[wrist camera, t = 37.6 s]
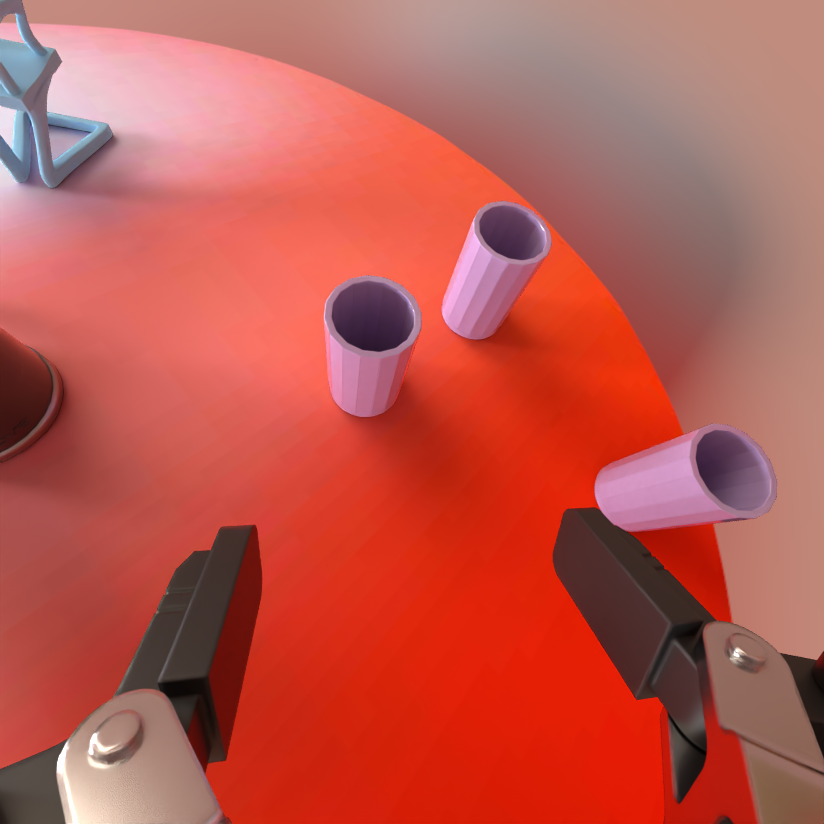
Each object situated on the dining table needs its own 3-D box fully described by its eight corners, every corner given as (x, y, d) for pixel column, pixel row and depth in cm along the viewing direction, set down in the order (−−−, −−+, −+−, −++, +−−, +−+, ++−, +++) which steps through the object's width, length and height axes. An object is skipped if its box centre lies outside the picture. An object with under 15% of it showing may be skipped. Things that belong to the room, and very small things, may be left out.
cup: (428, 308, 37) (457, 223, 28) (469, 277, 39) (509, 190, 30) (473, 351, 36) (517, 278, 27) (513, 317, 38) (566, 239, 29)
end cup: (580, 493, 33) (673, 464, 24) (618, 448, 35) (716, 406, 26) (635, 547, 32) (753, 539, 23) (670, 498, 34) (790, 472, 25)
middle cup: (314, 379, 33) (303, 306, 24) (368, 341, 35) (377, 261, 26) (361, 431, 32) (369, 376, 23) (413, 388, 34) (440, 322, 25)
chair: (-14, 177, 35) (-181, -5, 24) (26, 116, 38) (-104, -71, 27) (83, 194, 36) (-33, 27, 25) (114, 132, 39) (24, -41, 28)
